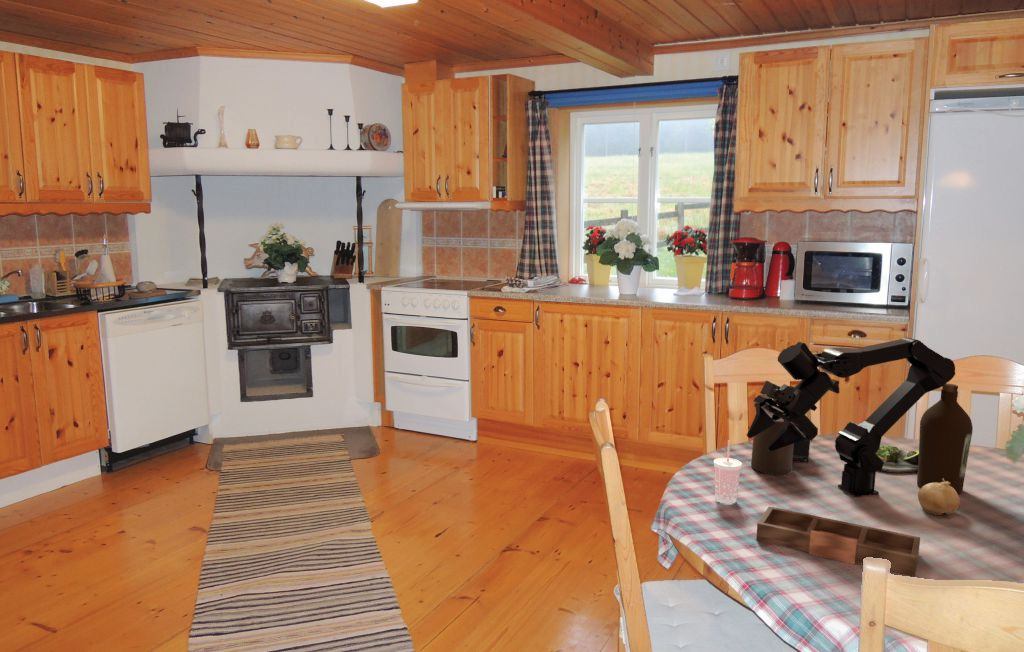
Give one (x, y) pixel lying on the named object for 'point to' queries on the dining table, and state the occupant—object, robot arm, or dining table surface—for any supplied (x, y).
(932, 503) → the onion
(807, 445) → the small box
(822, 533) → the wooden compartment tray
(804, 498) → the dining table surface
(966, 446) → the olive oil
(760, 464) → the pillar candle
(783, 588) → the dining table surface
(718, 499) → the beverage cup
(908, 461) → the salad plate
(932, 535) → the dining table surface
